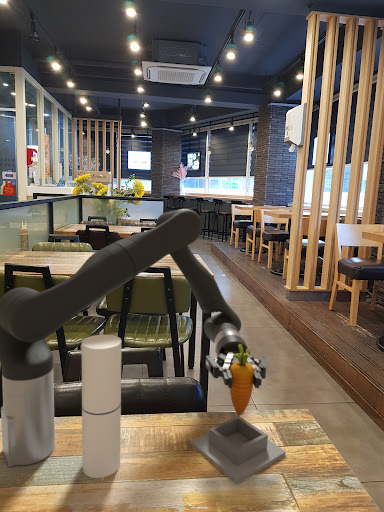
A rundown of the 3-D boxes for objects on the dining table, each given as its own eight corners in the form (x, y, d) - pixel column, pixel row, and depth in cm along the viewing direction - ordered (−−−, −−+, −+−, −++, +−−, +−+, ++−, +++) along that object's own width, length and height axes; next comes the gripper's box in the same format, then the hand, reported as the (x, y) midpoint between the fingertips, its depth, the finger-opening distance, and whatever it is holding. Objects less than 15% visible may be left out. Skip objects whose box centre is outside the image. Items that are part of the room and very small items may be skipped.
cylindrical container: (86, 482, 67) (86, 351, 63) (79, 458, 73) (78, 337, 70) (124, 470, 70) (126, 345, 67) (114, 448, 76) (115, 332, 73)
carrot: (250, 424, 74) (255, 353, 72) (226, 420, 75) (229, 350, 72) (251, 410, 79) (256, 343, 76) (228, 407, 80) (232, 341, 77)
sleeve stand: (236, 484, 68) (238, 464, 67) (190, 444, 79) (191, 426, 78) (285, 455, 76) (286, 437, 76) (237, 422, 87) (238, 406, 87)
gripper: (202, 333, 89) (208, 365, 72) (261, 334, 89) (281, 366, 73) (201, 363, 90) (207, 401, 73) (259, 363, 90) (278, 401, 74)
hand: (244, 383), depth 73 cm, fingers closed on carrot, 4 cm apart
